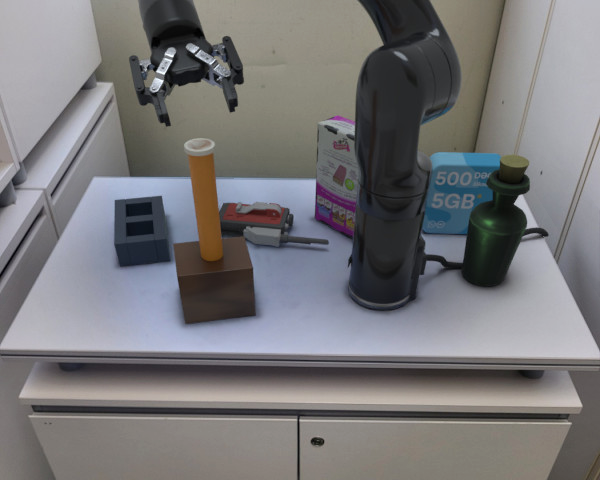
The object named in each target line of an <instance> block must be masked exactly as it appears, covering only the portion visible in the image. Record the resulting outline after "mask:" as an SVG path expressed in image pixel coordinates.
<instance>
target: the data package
mask: <svg viewBox="0 0 600 480" xmlns="http://www.w3.org/2000/svg"><path fill="white" fill-rule="evenodd" d="M501 157H502V156H501V155H500V154H499V153H493V152H491V153H490V152H489V153H488V152H455V151H454V152H452V151H451V152H449V151H438V152H435V153H433V154H431V155H430V157H429V158H430V160H431V161H432V165H433V172H432V178H431V184H430V188H429V194H428V200H427V205H426V211H425V217H424V222H423V228H422V231H424V232H425V233H427V234H446V235H467V231H468V224H469V217H470V213H471V211H472V210H473V209H474V208H475V207H476V206H477V205H479V204H480V203H483V202H487V201H491V200H493V190H491V189H490V188H488V186H487V185H486V182H487V179H488V177H489V176H490V174H491V173H492V172H494V171H495V170H499V169H500V158H501Z"/></svg>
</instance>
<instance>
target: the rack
mask: <svg viewBox="0 0 600 480" xmlns="http://www.w3.org/2000/svg"><path fill="white" fill-rule="evenodd" d="M166 216H167V215H166V211H165V206H164V200H163V195H153V196H141V197H132V198H131V197H129V198H120V199H114V218H113V219H114V223H113V224H114V225H113V226H114V228H113V230H114V231H113V237H114V238H113V245H114V249H115V253H116V258H117V262H118V265H119V267H126V266H135V265H136V266H137V265H145V264H156V263H163V262H164V263H165V262H170V261H171V255H170V246H169V237H168V226H167V218H166Z"/></svg>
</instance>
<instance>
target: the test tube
mask: <svg viewBox="0 0 600 480" xmlns="http://www.w3.org/2000/svg"><path fill="white" fill-rule="evenodd" d="M183 150H184V152H185V154H187V159H188V166H189V175H190V182H191V190H192V198H193V204H194V213H195V214H194V215H195V220H196V228H197V237H198V241H199V244H200V252H201V257H202V258H203V259H204V260H206V261H216V260H219V259H221V258H222V257H223V247H222V238H223V237H222V235H221V227H220V217H219V211H220V207H219V206H220V205H219V198H218V188H217V177H216V167H215V158H214V152H216V143H215V141H213V140H212V139H210V138H203V137H202V138H200V137H199V138H198V137H197V138H192V139H189V140H187V141H186V142H185V143H184V145H183Z"/></svg>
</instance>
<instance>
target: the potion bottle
mask: <svg viewBox="0 0 600 480" xmlns="http://www.w3.org/2000/svg"><path fill="white" fill-rule="evenodd" d="M529 166H530V161H529V159H528V158H526V157H525V156H521V155H519V154H518V155H517V154H505V155H502V156H501V158H500V169H499V170H495V171H494V172H492V173H491V174H490V176H489V177H488V179H487V182H486V185H487V186H488V188H490V189H491V190H493V200H491V201H487V202H483V203H480V204H479V205H477V206H476V207H475V208H474V209H473V210H472V211H471V213H470V217H469V224H468V231H467V234H466V239H465V245H464V251H463V252H464V253H463V258H462V259H463V260H462V263H463V265H462V269H461V273H462V276H463V277H464V279H466V280H467V281H468V282H470V283H471V284H473V285H475V286H481V287H493V286H496V285H499V284H501V283H502V282H503V281H504V280H505V279H506V276H507V273H508V272H509V270H510V267H511V265H512V262H513V260H514V257H515V255H516V252H517V250H518V248H519V246H520V244H521V241H522V239H523V237H524V236H523V234H524V232H525V230H526V229H527V228H528V218H527V215H526V213H525V212H524V210H523V209H521V208H520V207H519V206H518V205H516V204H515V203H516V201H517V200H518V198H519V196H522V195H525V194H528V192H530V190H531V180H530V179H531V178H529V176H528V175H527V174H526V170H527V169H528V167H529Z"/></svg>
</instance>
